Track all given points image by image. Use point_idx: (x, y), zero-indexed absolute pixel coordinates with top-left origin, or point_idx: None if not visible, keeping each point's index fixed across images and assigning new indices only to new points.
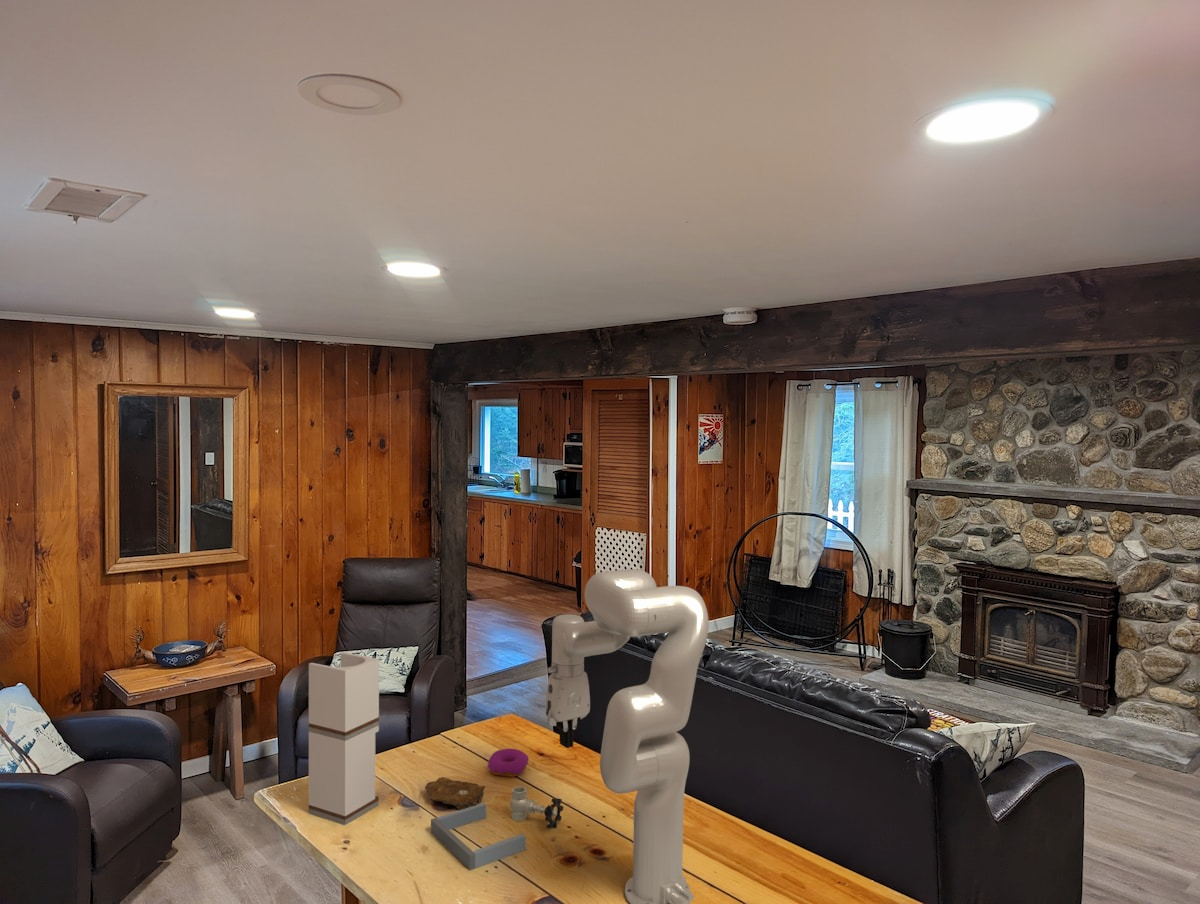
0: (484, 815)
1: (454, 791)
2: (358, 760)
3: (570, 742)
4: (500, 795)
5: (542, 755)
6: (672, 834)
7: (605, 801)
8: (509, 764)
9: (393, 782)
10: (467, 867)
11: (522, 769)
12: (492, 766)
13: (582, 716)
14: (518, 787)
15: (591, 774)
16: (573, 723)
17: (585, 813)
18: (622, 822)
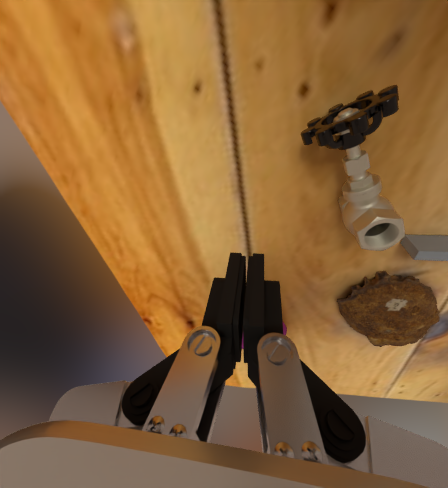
0: (412, 237)
1: (406, 312)
2: None
3: (243, 269)
4: (316, 277)
5: (190, 320)
6: None
7: (163, 154)
8: None
9: (397, 363)
10: None
11: None
12: (285, 331)
13: (100, 398)
14: (370, 245)
15: (147, 251)
16: (202, 373)
17: (229, 130)
18: (167, 13)
